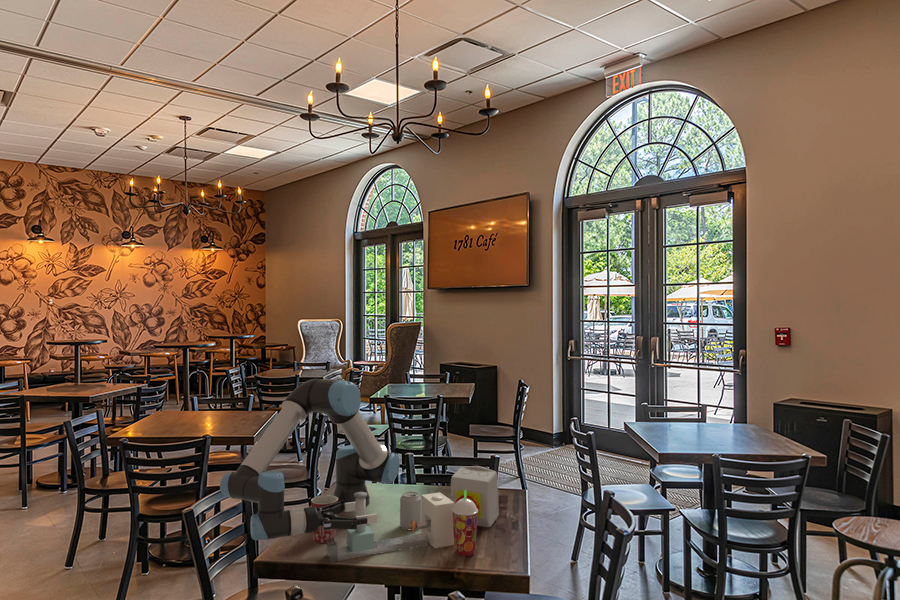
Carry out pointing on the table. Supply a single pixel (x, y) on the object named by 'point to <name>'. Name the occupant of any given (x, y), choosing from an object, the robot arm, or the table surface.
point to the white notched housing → (438, 519)
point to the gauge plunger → (419, 525)
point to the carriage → (360, 528)
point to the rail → (379, 546)
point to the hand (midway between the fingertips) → (370, 511)
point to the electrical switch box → (477, 491)
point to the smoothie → (465, 526)
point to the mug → (323, 534)
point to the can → (410, 508)
